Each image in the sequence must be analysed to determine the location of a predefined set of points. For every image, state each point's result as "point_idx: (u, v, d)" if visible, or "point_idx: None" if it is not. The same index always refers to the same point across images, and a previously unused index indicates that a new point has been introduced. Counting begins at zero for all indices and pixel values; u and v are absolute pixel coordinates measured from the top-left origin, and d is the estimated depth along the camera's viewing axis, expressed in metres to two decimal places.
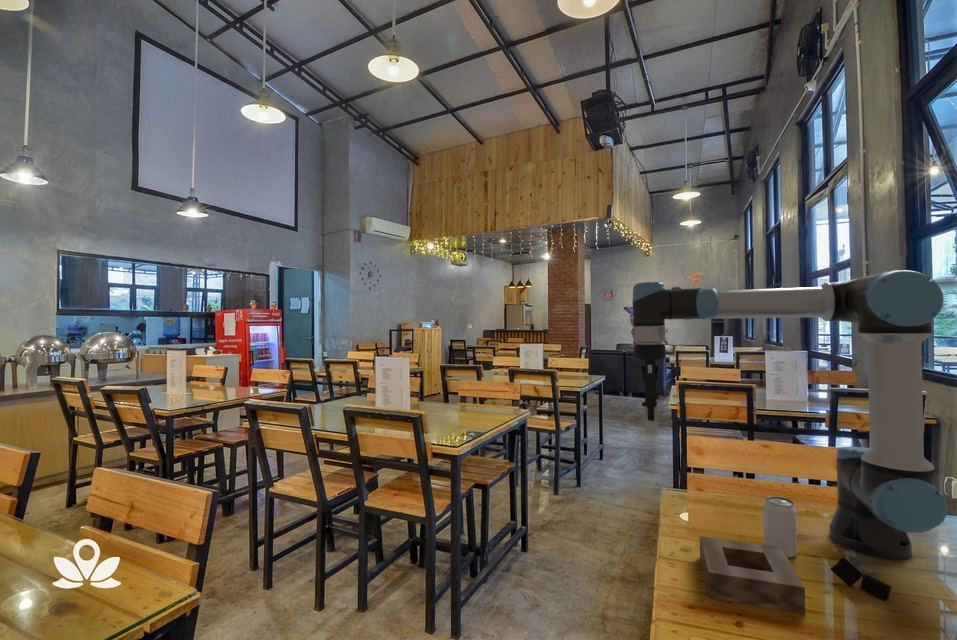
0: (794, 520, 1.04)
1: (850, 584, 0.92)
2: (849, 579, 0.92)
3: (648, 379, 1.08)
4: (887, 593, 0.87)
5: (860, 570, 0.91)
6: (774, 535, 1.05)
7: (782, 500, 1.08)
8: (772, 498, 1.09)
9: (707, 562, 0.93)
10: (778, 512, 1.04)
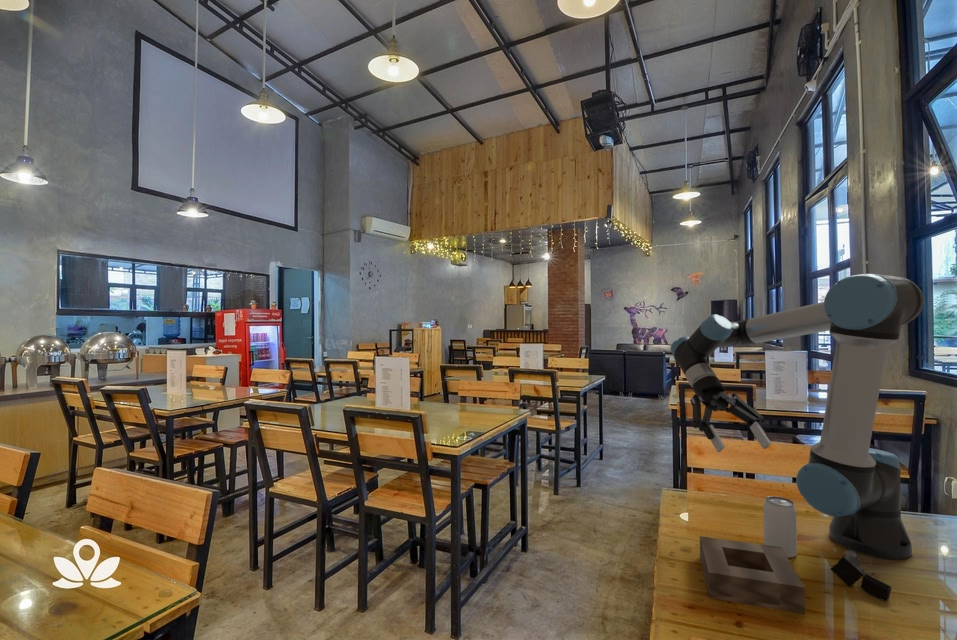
0: (794, 520, 1.04)
1: (850, 584, 0.92)
2: (849, 579, 0.92)
3: (693, 408, 1.25)
4: (887, 593, 0.87)
5: (860, 570, 0.91)
6: (774, 535, 1.05)
7: (782, 500, 1.08)
8: (772, 498, 1.09)
9: (707, 562, 0.93)
10: (778, 512, 1.04)
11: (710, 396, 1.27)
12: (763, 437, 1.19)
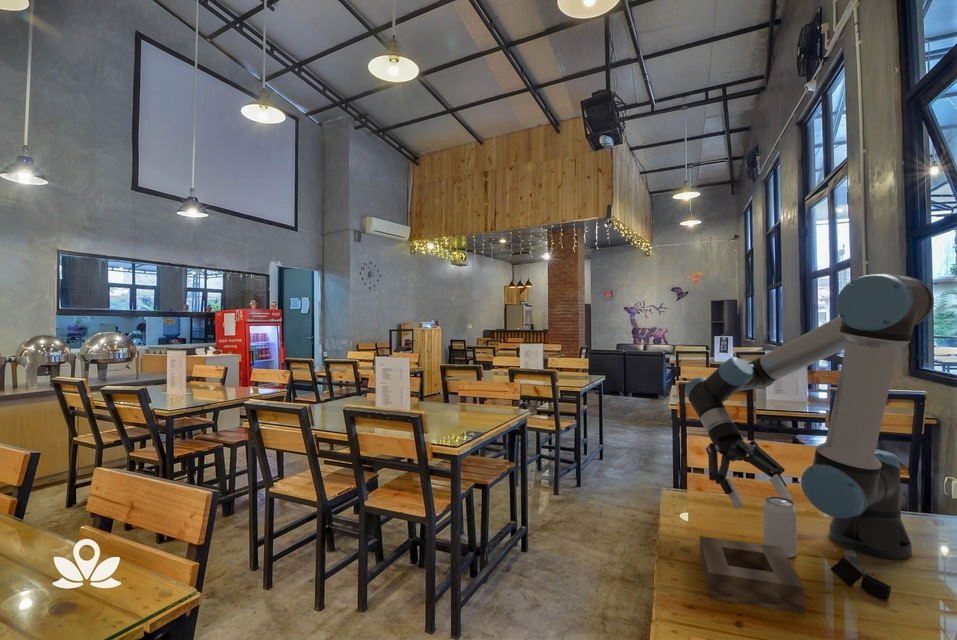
0: (794, 520, 1.04)
1: (850, 584, 0.92)
2: (849, 579, 0.92)
3: (709, 458, 1.19)
4: (887, 593, 0.87)
5: (860, 570, 0.91)
6: (774, 535, 1.05)
7: (782, 500, 1.08)
8: (772, 498, 1.09)
9: (707, 562, 0.93)
10: (778, 512, 1.04)
11: (727, 445, 1.20)
12: (784, 492, 1.12)
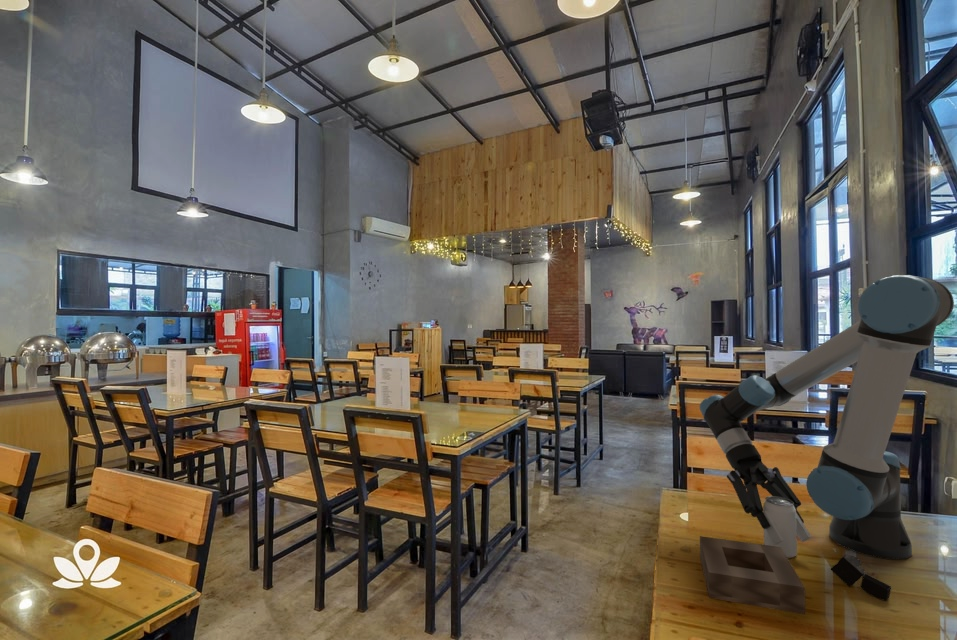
0: (794, 520, 1.04)
1: (850, 584, 0.92)
2: (849, 579, 0.92)
3: (736, 488, 1.12)
4: (887, 593, 0.87)
5: (860, 570, 0.91)
6: None
7: (782, 500, 1.08)
8: (772, 498, 1.09)
9: (707, 562, 0.93)
10: (778, 512, 1.04)
11: (745, 466, 1.15)
12: (802, 528, 1.04)
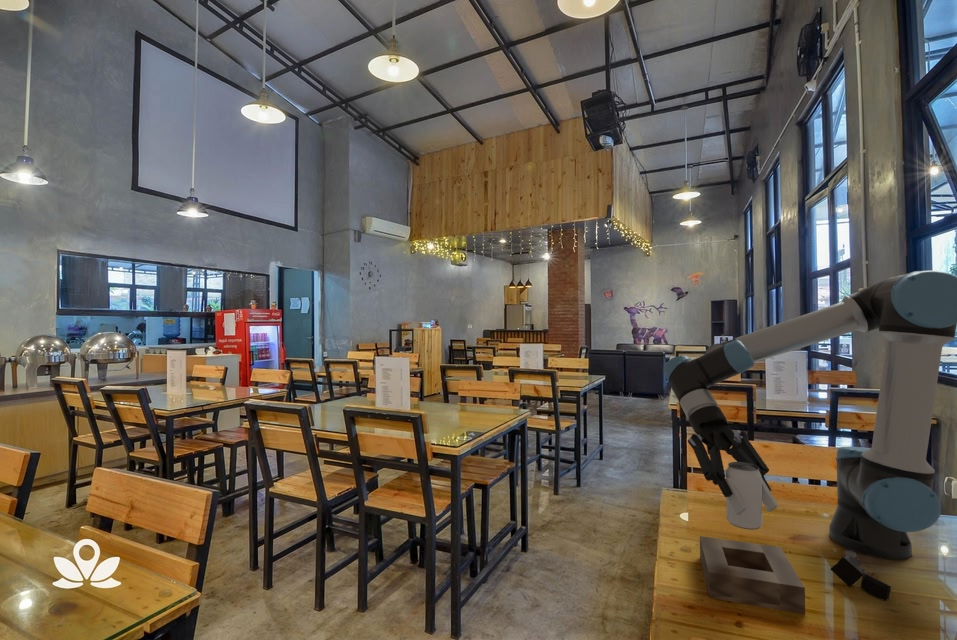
0: (759, 487, 0.92)
1: (850, 584, 0.92)
2: (849, 579, 0.92)
3: (697, 453, 1.00)
4: (887, 593, 0.87)
5: (860, 570, 0.91)
6: None
7: (747, 465, 0.96)
8: (736, 464, 0.97)
9: (707, 562, 0.93)
10: (741, 477, 0.92)
11: (708, 430, 1.02)
12: (768, 497, 0.92)
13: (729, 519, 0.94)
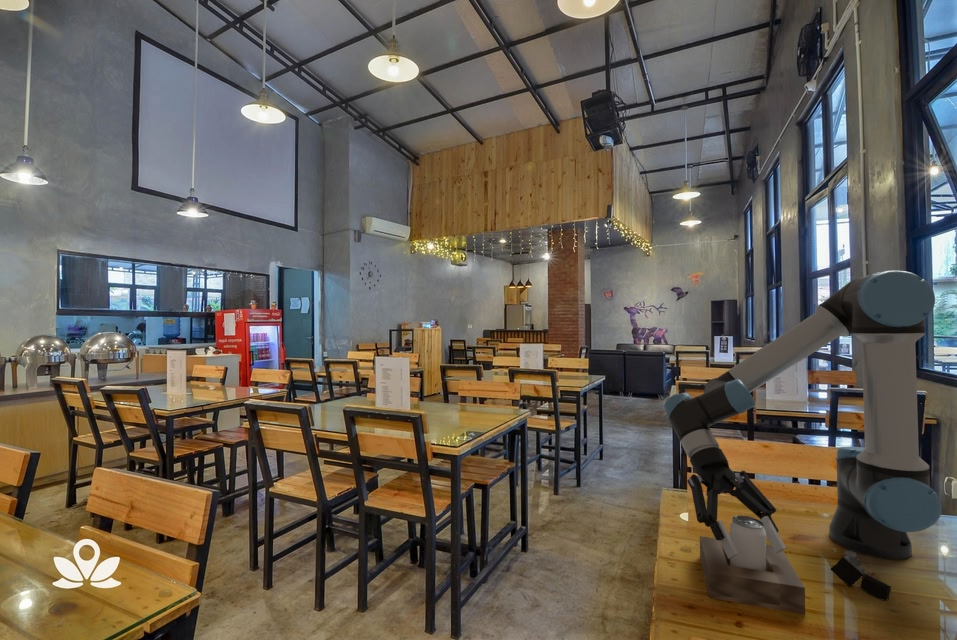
0: (764, 544, 0.91)
1: (850, 584, 0.92)
2: (849, 579, 0.92)
3: (694, 494, 1.00)
4: (887, 593, 0.87)
5: (860, 570, 0.91)
6: (741, 561, 0.92)
7: (751, 520, 0.95)
8: (740, 518, 0.96)
9: (707, 562, 0.93)
10: (746, 535, 0.91)
11: (711, 473, 1.02)
12: (775, 538, 0.93)
13: None
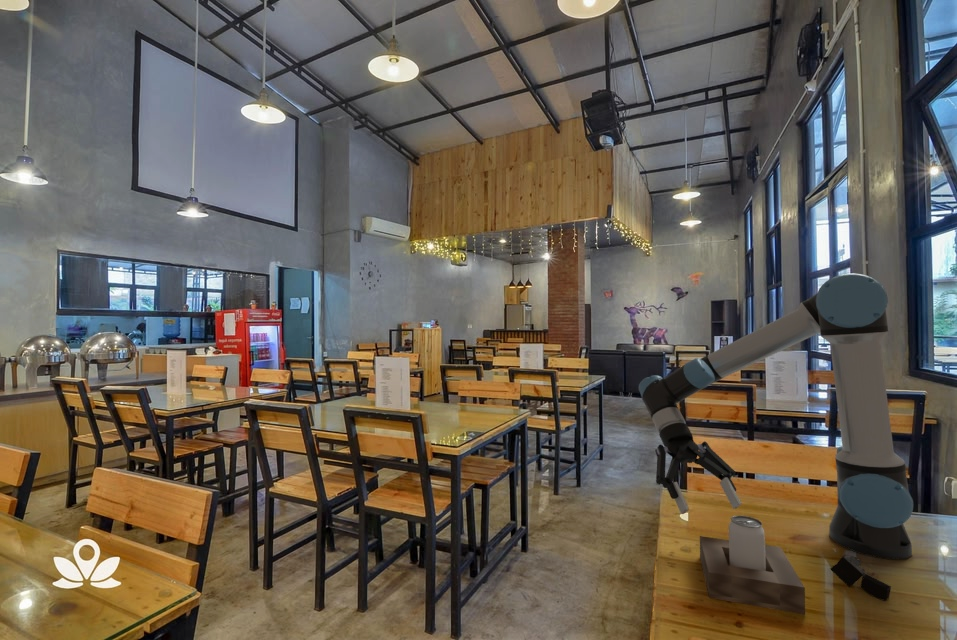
0: (762, 543, 0.92)
1: (850, 584, 0.92)
2: (849, 579, 0.92)
3: (658, 460, 1.13)
4: (887, 593, 0.87)
5: (860, 570, 0.91)
6: (740, 560, 0.92)
7: (749, 520, 0.96)
8: (738, 518, 0.97)
9: (707, 562, 0.93)
10: (745, 534, 0.92)
11: (677, 446, 1.15)
12: (733, 496, 1.07)
13: None
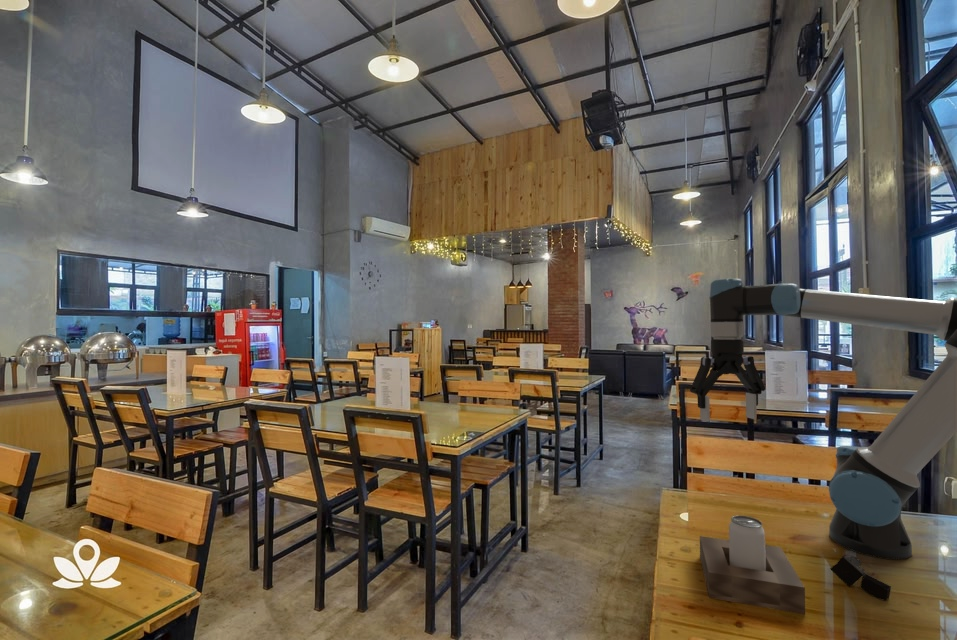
0: (763, 543, 0.92)
1: (850, 584, 0.92)
2: (849, 579, 0.92)
3: (700, 370, 1.18)
4: (887, 593, 0.87)
5: (860, 570, 0.91)
6: (740, 560, 0.92)
7: (750, 520, 0.96)
8: (738, 518, 0.97)
9: (707, 562, 0.93)
10: (745, 534, 0.92)
11: (724, 360, 1.17)
12: (752, 411, 1.19)
13: None
